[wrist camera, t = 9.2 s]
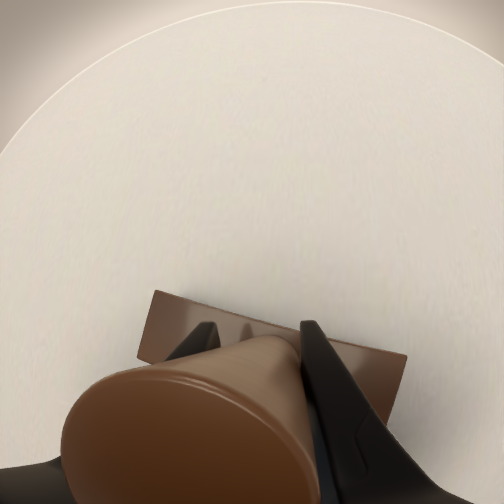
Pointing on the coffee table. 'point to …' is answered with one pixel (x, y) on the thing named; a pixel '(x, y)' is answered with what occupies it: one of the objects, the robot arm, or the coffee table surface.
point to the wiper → (209, 415)
